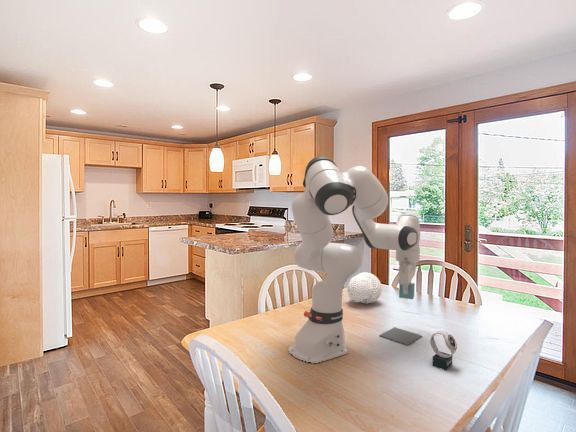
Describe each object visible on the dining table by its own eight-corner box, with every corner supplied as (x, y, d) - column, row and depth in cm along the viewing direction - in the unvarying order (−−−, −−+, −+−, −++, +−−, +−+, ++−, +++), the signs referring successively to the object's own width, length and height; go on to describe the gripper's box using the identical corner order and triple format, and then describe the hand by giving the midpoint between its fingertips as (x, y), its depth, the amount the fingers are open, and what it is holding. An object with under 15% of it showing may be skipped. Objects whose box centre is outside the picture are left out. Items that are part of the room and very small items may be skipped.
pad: (407, 345, 125) (407, 344, 125) (379, 336, 134) (379, 335, 134) (422, 336, 134) (422, 335, 134) (394, 328, 142) (394, 327, 142)
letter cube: (412, 299, 128) (413, 286, 127) (399, 297, 130) (399, 284, 130) (414, 296, 132) (414, 283, 132) (401, 294, 134) (401, 281, 134)
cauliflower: (358, 297, 188) (359, 268, 187) (388, 303, 176) (389, 272, 176) (340, 305, 172) (340, 274, 171) (372, 313, 161) (372, 279, 160)
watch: (452, 372, 106) (453, 338, 106) (427, 363, 112) (427, 331, 111) (458, 366, 110) (459, 333, 110) (433, 358, 116) (434, 327, 115)
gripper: (412, 261, 120) (411, 299, 120) (419, 253, 138) (418, 286, 138) (394, 259, 122) (393, 297, 123) (403, 252, 141) (402, 284, 141)
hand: (406, 291), depth 131 cm, fingers closed on letter cube, 5 cm apart
